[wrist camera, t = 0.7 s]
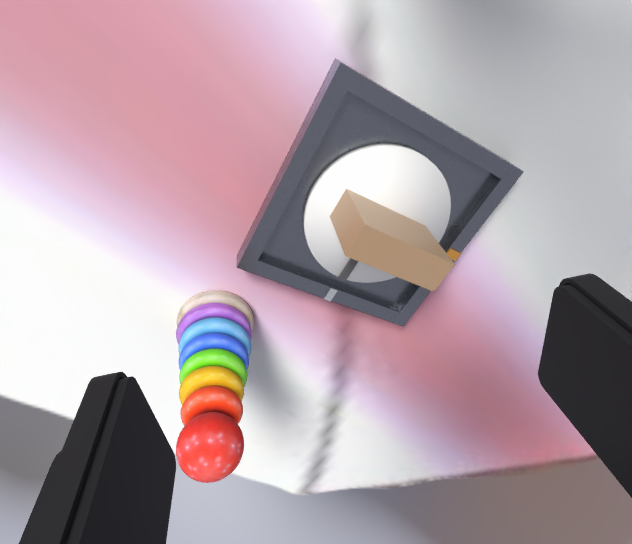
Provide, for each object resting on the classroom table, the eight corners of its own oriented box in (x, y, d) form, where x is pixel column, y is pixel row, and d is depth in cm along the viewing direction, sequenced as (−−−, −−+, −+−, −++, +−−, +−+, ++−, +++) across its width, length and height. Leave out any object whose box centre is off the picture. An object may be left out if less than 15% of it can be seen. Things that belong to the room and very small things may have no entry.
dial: (351, 114, 36) (376, 143, 29) (475, 183, 41) (521, 220, 34) (278, 249, 42) (285, 298, 35) (394, 294, 47) (419, 344, 40)
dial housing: (335, 58, 34) (341, 62, 32) (511, 163, 42) (524, 172, 40) (236, 255, 43) (236, 268, 41) (397, 314, 50) (403, 327, 48)
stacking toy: (245, 347, 50) (248, 509, 34) (174, 339, 48) (142, 509, 32) (260, 292, 46) (270, 448, 30) (183, 281, 44) (151, 442, 28)
